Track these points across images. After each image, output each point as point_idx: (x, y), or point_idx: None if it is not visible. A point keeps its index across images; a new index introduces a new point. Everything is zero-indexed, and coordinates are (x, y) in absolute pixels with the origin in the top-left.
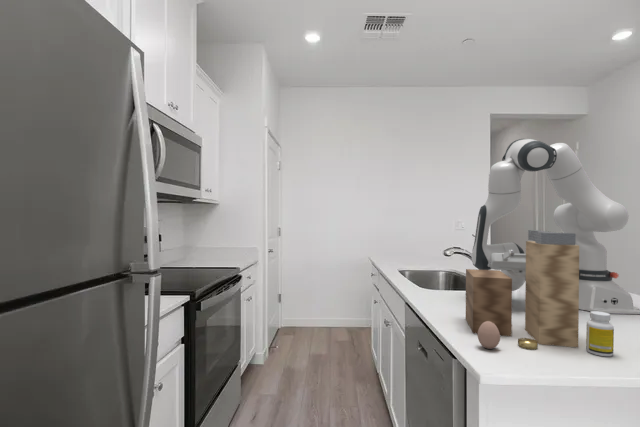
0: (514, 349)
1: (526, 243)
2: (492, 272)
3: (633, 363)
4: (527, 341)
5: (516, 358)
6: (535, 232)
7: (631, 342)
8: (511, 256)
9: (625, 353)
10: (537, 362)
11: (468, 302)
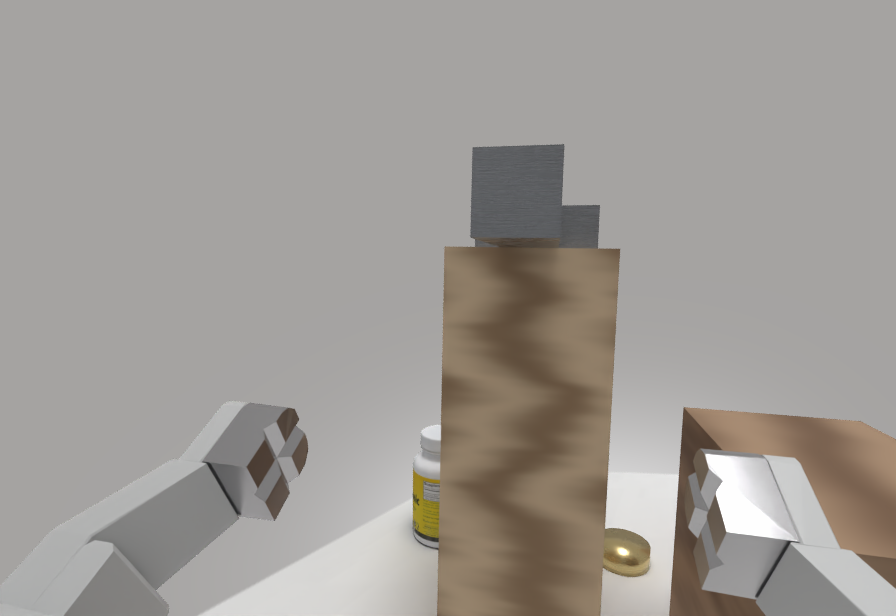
0: (661, 547)
1: (618, 261)
2: (827, 487)
3: (412, 499)
4: (624, 537)
5: (659, 512)
6: (599, 207)
7: (249, 593)
8: (734, 594)
9: (373, 532)
10: (616, 501)
11: None
